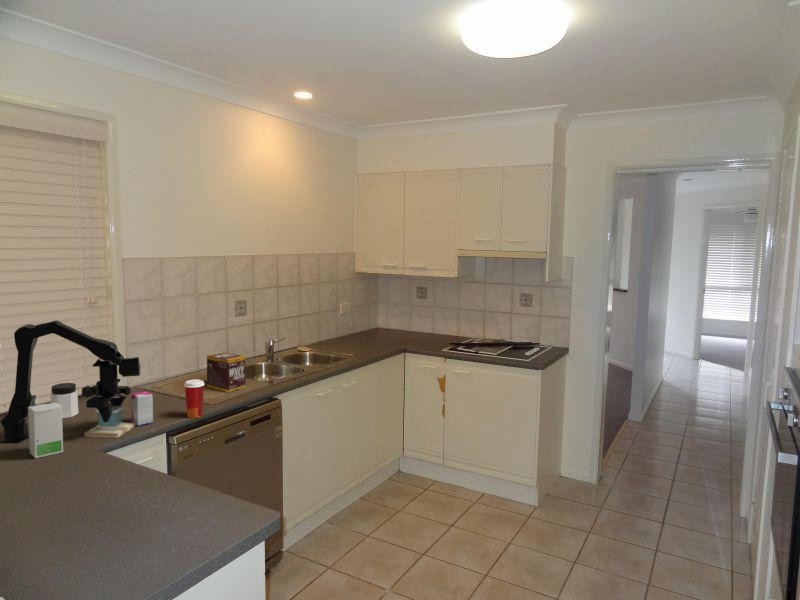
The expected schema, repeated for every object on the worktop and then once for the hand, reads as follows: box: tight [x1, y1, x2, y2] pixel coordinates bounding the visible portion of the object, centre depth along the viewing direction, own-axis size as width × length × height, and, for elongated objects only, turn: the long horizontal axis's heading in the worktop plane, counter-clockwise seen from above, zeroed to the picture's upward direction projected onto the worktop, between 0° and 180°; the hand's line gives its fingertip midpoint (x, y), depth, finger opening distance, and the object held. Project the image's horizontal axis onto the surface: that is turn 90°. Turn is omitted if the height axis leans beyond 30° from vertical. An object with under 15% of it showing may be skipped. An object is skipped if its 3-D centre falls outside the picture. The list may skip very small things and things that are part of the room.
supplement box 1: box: [131, 391, 154, 427], centre depth 204 cm, size 6×6×12 cm
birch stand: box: [83, 421, 136, 438], centre depth 196 cm, size 12×12×1 cm
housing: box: [94, 405, 125, 430], centre depth 196 cm, size 8×5×7 cm, turn 88°
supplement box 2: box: [206, 351, 247, 392], centre depth 254 cm, size 10×15×16 cm
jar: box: [50, 382, 79, 419], centre depth 211 cm, size 9×8×12 cm
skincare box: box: [28, 402, 64, 459], centre depth 175 cm, size 8×7×16 cm
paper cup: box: [183, 379, 206, 419], centre depth 214 cm, size 8×8×14 cm
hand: (110, 419), depth 196 cm, fingers open, 5 cm apart
